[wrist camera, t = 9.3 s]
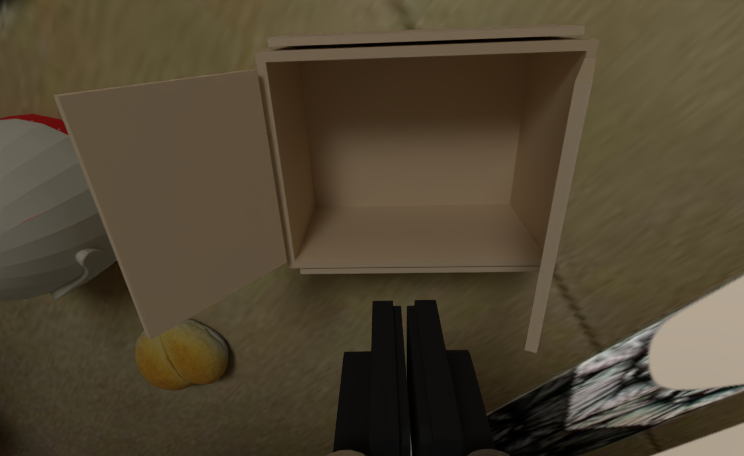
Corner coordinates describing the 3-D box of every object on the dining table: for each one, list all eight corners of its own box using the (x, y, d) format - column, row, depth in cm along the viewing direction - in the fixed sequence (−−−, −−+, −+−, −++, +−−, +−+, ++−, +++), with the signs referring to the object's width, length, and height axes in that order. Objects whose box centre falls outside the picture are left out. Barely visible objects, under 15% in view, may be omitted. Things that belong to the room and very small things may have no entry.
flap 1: (256, 69, 20) (57, 96, 14) (287, 262, 25) (151, 339, 19) (250, 69, 20) (53, 95, 14) (281, 259, 26) (146, 335, 20)
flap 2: (596, 57, 19) (592, 83, 13) (554, 259, 25) (536, 353, 18) (584, 58, 19) (574, 82, 13) (546, 257, 25) (524, 349, 18)
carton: (539, 23, 27) (602, 25, 19) (512, 214, 34) (551, 274, 26) (291, 33, 28) (252, 38, 20) (312, 217, 34) (289, 277, 26)
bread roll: (243, 365, 43) (230, 396, 40) (170, 378, 45) (151, 409, 41) (210, 306, 40) (192, 334, 36) (131, 322, 41) (107, 351, 38)
